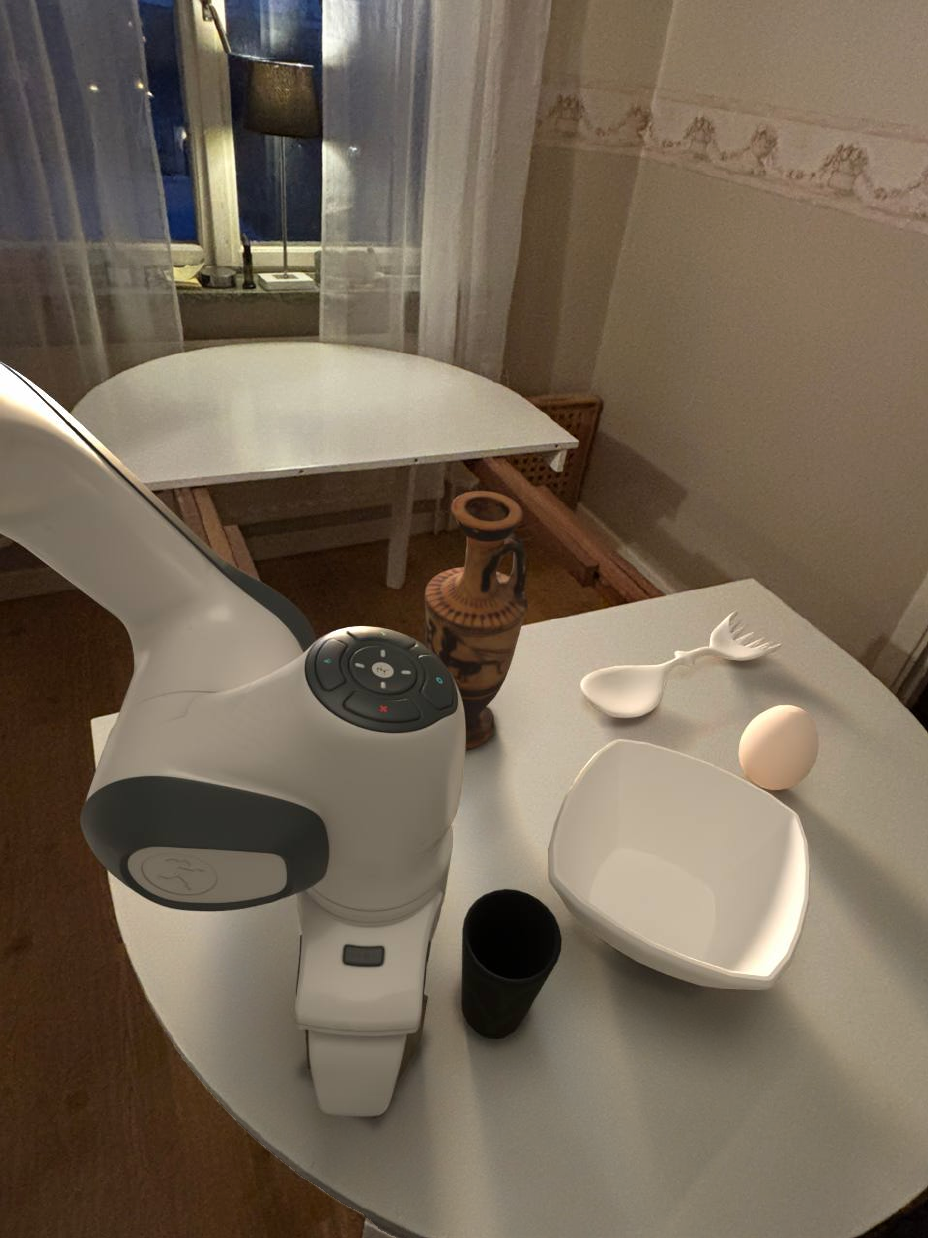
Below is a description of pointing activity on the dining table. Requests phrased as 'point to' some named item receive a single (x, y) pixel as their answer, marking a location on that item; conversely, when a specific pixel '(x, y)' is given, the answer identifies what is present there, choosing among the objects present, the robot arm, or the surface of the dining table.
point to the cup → (505, 959)
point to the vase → (479, 607)
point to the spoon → (663, 673)
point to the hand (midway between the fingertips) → (368, 980)
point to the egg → (779, 747)
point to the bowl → (682, 866)
